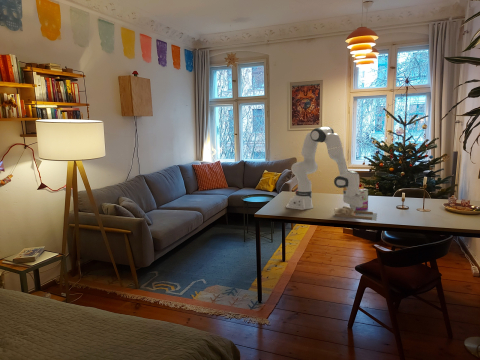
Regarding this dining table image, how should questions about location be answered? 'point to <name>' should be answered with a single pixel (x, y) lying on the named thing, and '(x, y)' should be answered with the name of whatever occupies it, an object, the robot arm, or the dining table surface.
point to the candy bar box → (365, 199)
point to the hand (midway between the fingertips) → (352, 210)
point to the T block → (344, 211)
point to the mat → (359, 215)
